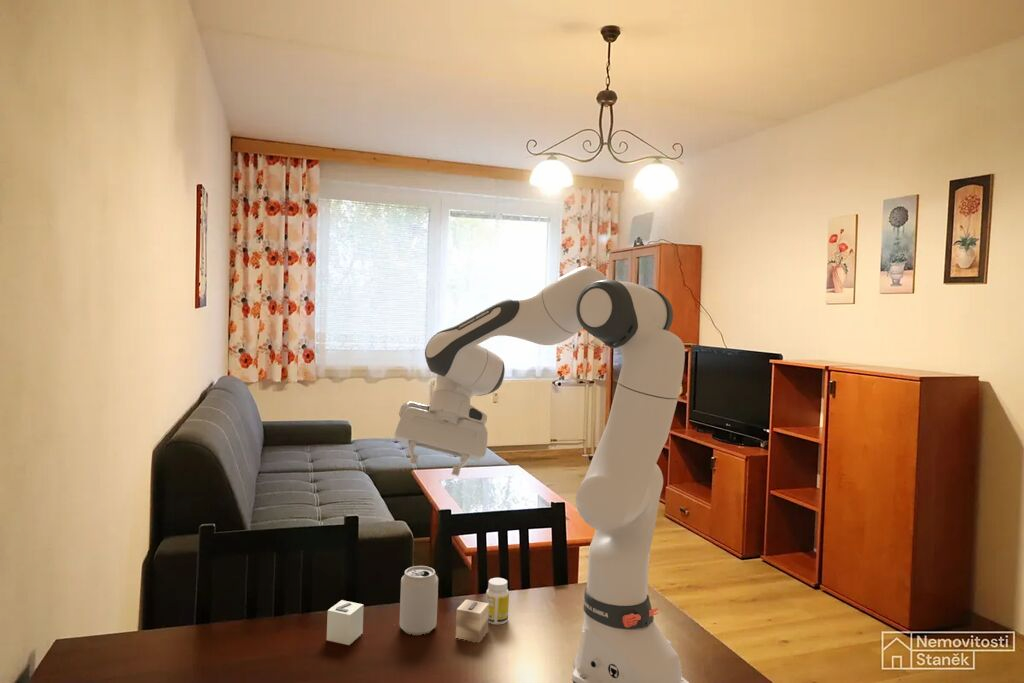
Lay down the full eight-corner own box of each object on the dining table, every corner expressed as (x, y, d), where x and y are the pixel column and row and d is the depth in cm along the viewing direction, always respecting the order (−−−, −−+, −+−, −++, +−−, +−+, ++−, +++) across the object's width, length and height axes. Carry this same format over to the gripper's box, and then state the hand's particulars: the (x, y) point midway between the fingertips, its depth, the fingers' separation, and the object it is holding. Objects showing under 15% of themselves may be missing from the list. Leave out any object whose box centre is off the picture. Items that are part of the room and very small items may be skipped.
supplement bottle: (509, 616, 146) (510, 577, 145) (506, 626, 141) (508, 586, 141) (486, 614, 146) (488, 575, 146) (483, 624, 141) (485, 584, 141)
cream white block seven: (362, 633, 135) (363, 603, 135) (349, 645, 130) (350, 613, 130) (340, 629, 137) (341, 599, 136) (326, 640, 132) (327, 609, 132)
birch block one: (487, 632, 138) (488, 602, 138) (479, 643, 133) (480, 612, 133) (464, 627, 140) (466, 598, 139) (455, 638, 135) (456, 608, 135)
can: (437, 636, 135) (439, 577, 135) (399, 637, 134) (401, 578, 134) (435, 619, 143) (437, 563, 142) (399, 620, 141) (401, 564, 141)
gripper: (404, 394, 148) (387, 452, 141) (494, 417, 151) (481, 476, 144) (401, 404, 154) (385, 462, 147) (488, 427, 156) (476, 484, 149)
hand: (433, 469), depth 145 cm, fingers open, 8 cm apart
